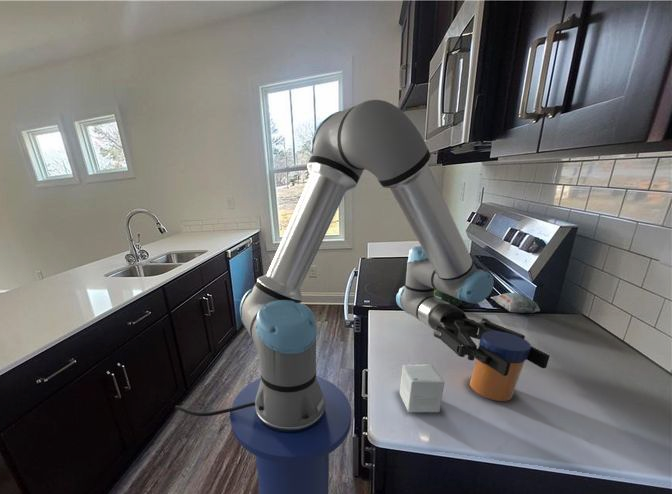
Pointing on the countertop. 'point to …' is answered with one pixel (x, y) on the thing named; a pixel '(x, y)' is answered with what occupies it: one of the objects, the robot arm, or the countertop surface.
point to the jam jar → (495, 381)
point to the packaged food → (516, 303)
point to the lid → (506, 345)
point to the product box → (421, 388)
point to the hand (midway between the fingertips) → (526, 365)
